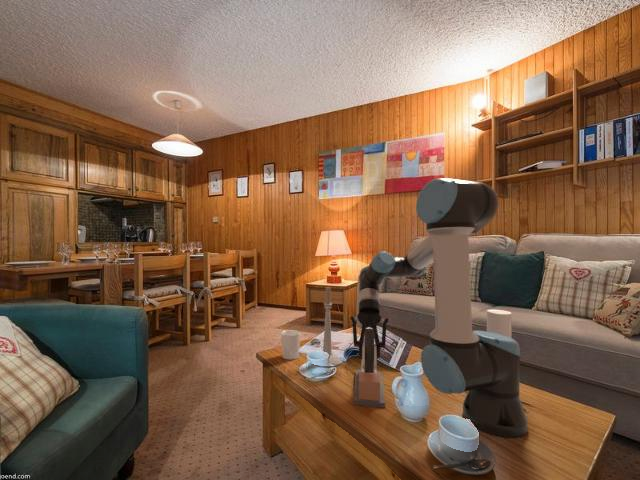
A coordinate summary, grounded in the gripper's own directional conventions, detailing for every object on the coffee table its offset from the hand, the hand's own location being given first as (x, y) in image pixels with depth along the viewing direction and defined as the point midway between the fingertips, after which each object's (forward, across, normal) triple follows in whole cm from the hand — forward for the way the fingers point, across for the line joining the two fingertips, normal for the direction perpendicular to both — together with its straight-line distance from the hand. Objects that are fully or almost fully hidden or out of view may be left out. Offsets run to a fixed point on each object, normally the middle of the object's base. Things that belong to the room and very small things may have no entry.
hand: (369, 367), depth 95 cm
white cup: (-12, +32, -25) cm, 42 cm away
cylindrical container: (-3, -43, -16) cm, 46 cm away
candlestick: (-11, +16, -24) cm, 31 cm away
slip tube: (+3, 0, -6) cm, 7 cm away
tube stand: (+3, 0, -9) cm, 10 cm away
